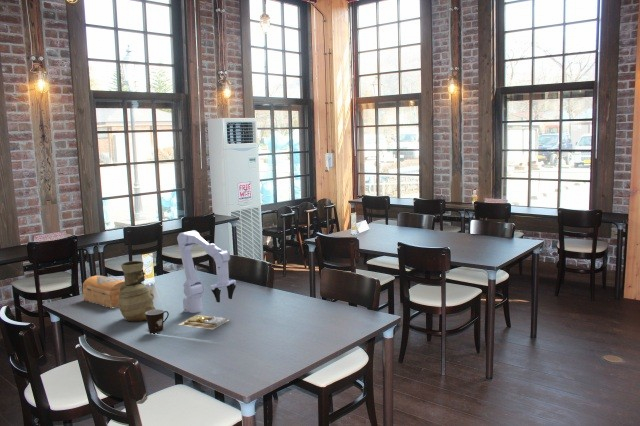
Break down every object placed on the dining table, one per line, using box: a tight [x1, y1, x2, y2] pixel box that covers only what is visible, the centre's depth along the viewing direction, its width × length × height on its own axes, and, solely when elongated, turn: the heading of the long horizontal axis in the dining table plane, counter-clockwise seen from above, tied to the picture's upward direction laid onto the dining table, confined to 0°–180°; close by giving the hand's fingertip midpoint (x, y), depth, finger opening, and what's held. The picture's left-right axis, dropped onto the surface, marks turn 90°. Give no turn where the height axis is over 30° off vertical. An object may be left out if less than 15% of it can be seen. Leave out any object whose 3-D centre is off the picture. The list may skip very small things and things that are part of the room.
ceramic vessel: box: [118, 260, 156, 323], centre depth 303 cm, size 19×21×30 cm
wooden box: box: [82, 274, 125, 309], centre depth 337 cm, size 30×16×14 cm, turn 50°
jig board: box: [177, 315, 230, 330], centre depth 291 cm, size 21×15×2 cm
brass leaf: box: [186, 314, 206, 323], centre depth 292 cm, size 7×8×2 cm
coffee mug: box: [145, 308, 170, 335], centre depth 282 cm, size 12×9×10 cm
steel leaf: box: [204, 316, 226, 328], centre depth 288 cm, size 7×8×2 cm
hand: (224, 300), depth 297 cm, fingers open, 7 cm apart
